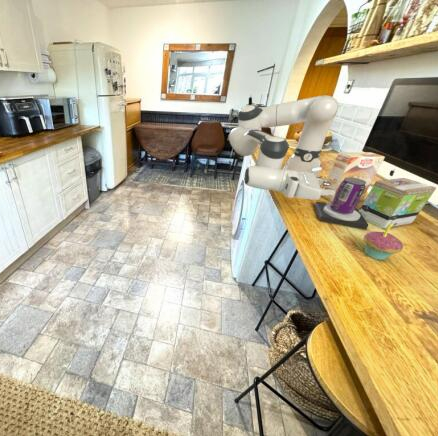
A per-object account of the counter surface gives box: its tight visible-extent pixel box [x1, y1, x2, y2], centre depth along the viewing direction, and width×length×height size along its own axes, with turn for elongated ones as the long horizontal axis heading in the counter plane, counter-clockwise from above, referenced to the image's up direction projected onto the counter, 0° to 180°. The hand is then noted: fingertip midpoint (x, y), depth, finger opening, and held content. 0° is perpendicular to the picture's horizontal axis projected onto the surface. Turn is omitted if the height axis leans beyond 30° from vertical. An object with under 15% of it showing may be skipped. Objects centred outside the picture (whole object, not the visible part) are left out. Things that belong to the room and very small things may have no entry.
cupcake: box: [363, 221, 404, 261], centre depth 68 cm, size 9×8×12 cm
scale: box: [313, 200, 369, 231], centre depth 90 cm, size 14×14×3 cm
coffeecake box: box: [321, 151, 386, 203], centre depth 101 cm, size 15×7×20 cm, turn 95°
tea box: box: [358, 177, 437, 229], centre depth 86 cm, size 15×10×15 cm, turn 107°
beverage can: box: [330, 177, 366, 214], centre depth 86 cm, size 7×7×12 cm
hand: (331, 187), depth 87 cm, fingers open, 8 cm apart
